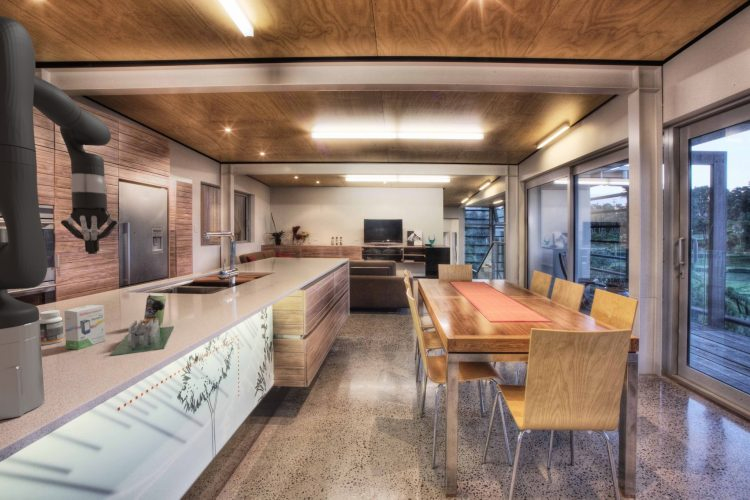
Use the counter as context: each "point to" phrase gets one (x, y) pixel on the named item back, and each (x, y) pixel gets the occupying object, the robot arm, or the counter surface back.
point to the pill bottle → (51, 327)
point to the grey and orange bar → (144, 326)
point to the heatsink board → (144, 337)
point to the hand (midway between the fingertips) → (92, 253)
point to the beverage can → (155, 306)
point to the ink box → (84, 326)
